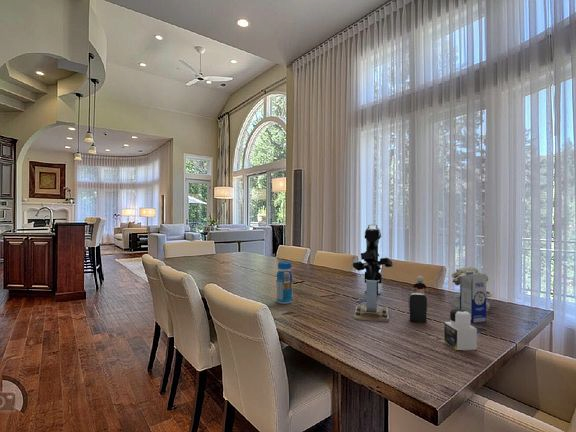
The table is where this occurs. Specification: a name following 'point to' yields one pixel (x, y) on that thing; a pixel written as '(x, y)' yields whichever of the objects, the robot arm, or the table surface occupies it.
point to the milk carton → (473, 296)
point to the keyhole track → (371, 314)
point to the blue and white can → (284, 283)
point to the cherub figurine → (457, 281)
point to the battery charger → (417, 307)
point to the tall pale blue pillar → (371, 295)
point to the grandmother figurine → (419, 285)
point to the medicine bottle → (460, 331)
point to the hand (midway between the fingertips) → (371, 280)
